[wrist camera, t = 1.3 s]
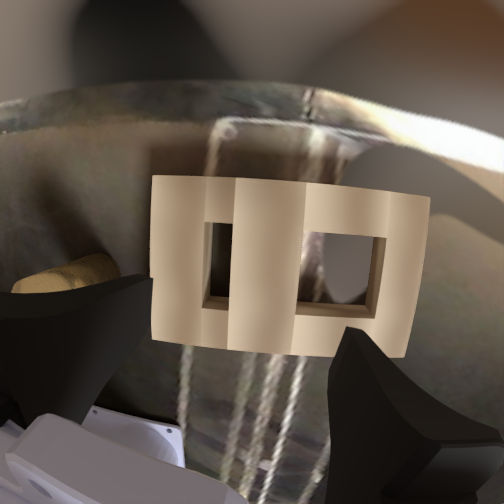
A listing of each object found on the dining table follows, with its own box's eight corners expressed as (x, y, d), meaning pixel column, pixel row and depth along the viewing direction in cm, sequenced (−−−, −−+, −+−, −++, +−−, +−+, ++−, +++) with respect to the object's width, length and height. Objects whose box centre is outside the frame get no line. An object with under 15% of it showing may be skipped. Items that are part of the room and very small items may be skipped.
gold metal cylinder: (83, 295, 22) (15, 333, 14) (81, 251, 21) (7, 275, 14) (122, 301, 22) (58, 347, 14) (120, 254, 21) (49, 283, 13)
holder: (164, 324, 22) (152, 339, 19) (167, 177, 20) (152, 175, 18) (392, 341, 21) (404, 357, 18) (414, 196, 19) (430, 197, 16)
